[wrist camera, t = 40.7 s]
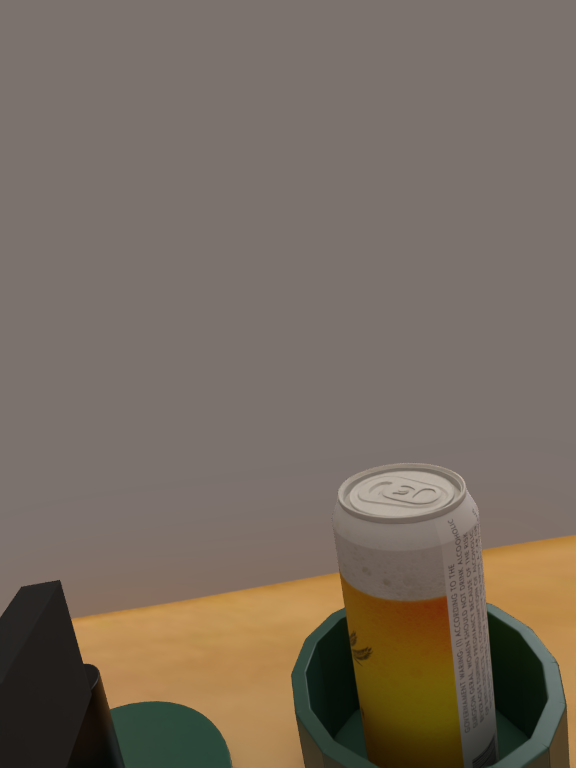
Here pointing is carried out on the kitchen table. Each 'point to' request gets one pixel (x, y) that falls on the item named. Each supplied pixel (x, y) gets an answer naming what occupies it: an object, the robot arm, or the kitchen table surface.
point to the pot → (510, 685)
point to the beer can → (417, 616)
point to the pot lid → (145, 735)
